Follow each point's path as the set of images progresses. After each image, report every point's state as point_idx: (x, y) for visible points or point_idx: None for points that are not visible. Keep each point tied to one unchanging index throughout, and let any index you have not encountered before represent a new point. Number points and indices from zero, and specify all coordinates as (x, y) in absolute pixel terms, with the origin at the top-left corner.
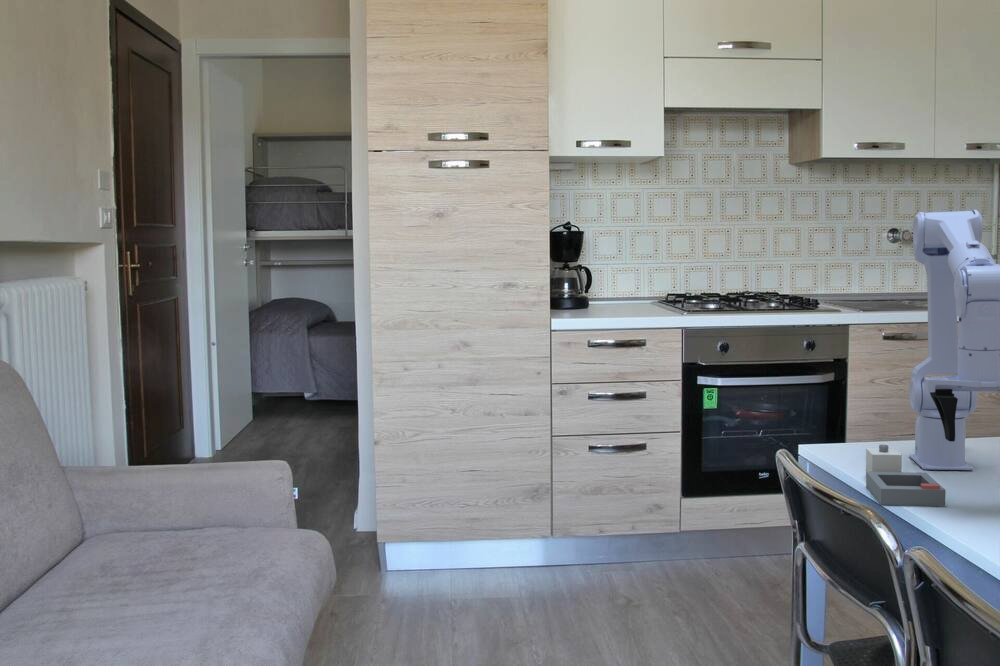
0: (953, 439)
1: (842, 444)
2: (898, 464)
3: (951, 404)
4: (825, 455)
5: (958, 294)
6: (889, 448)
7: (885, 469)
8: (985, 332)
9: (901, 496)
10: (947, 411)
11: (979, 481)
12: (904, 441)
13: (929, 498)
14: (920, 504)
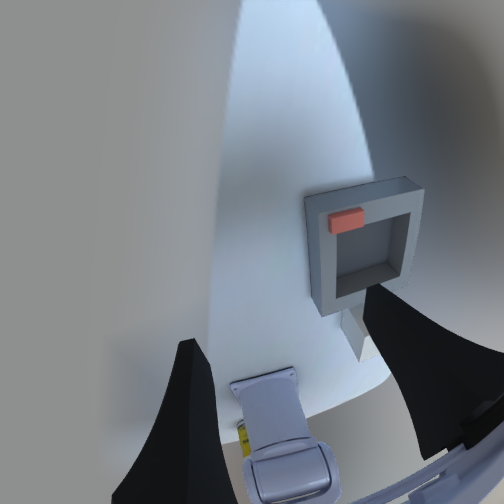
0: (374, 289)
1: (350, 398)
2: (362, 322)
3: (479, 372)
4: (383, 365)
5: None
6: (366, 359)
7: None
8: None
9: (387, 188)
10: (464, 347)
11: (224, 352)
12: None
13: (339, 198)
14: (348, 189)
